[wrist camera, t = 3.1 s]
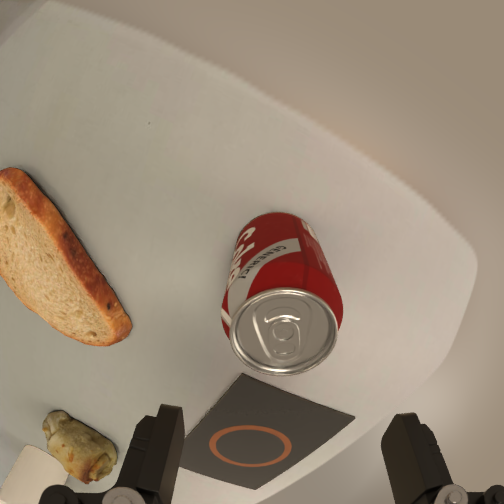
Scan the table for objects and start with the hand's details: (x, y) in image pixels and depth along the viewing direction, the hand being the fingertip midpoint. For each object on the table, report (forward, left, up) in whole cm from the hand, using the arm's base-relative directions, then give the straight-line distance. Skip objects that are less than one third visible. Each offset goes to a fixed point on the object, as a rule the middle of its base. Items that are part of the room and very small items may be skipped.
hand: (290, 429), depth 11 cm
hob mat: (+5, +28, -18) cm, 34 cm away
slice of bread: (+22, -1, -18) cm, 28 cm away
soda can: (0, 0, -18) cm, 18 cm away
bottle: (+51, +45, -18) cm, 70 cm away
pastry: (+32, +30, -18) cm, 48 cm away
